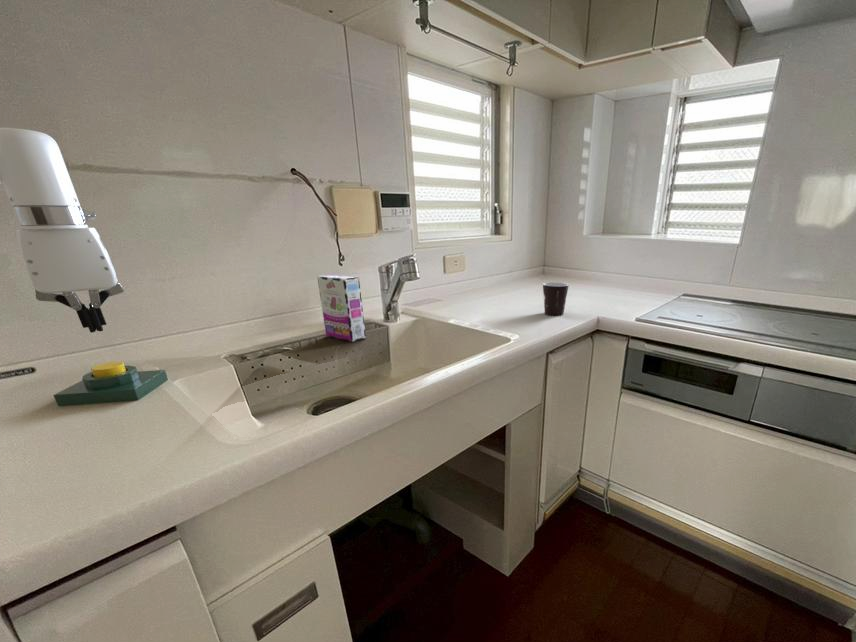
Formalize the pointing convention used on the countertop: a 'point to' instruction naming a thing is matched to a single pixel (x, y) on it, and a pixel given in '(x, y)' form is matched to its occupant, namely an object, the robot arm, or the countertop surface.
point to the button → (108, 369)
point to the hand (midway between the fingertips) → (96, 330)
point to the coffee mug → (555, 298)
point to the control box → (111, 387)
